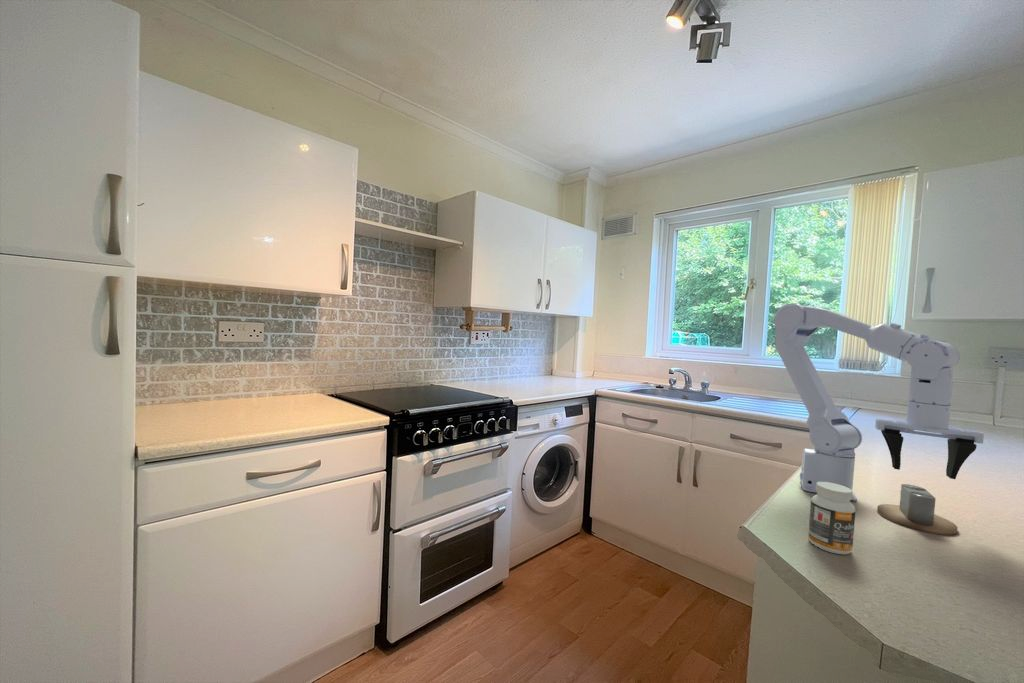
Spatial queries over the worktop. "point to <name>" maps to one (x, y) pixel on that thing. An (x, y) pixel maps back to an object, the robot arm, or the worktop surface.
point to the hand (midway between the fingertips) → (922, 472)
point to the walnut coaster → (898, 517)
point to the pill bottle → (832, 518)
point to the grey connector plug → (917, 504)
